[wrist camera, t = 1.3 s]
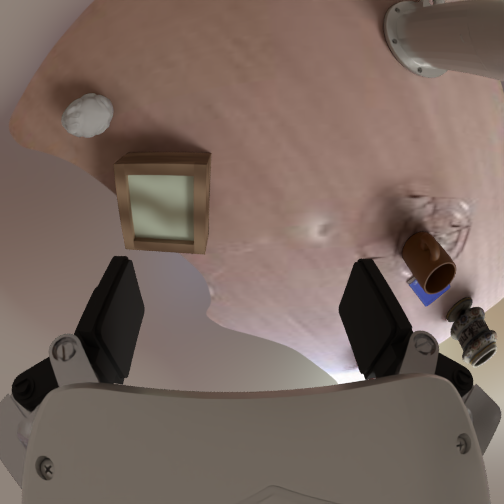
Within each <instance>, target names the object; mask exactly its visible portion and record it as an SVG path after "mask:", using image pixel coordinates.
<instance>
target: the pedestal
mask: <svg viewBox="0 0 504 504" xmlns="http://www.w3.org/2000/svg"><path fill="white" fill-rule="evenodd" d="M113 165H114V176H115V185H116V193H117V200H118V207H119V214H120V220H121V226H122V232H123V238H124V243H125V248H126V249H132V250H147V251H162V252H176V253H192V254H205V251H206V246H207V240H208V235H209V196H210V170H211V153H194V152H132V153H127V154H126V155H125V156H123V157H122V158H121V159H119V160H118V161H117V162H116V163H115V164H113Z"/></svg>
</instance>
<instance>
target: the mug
mask: <svg viewBox="0 0 504 504" xmlns="http://www.w3.org/2000/svg"><path fill="white" fill-rule="evenodd" d="M402 255H403V259H404V261H405V263H406V264H407V266H408V267H409V269H410V271H411V272H412V274H413V275H414V277H415V278H416V280H417V282H418V283H419V285H420V286H421V287H422V289H423V290H424V291H425V293H427V294H436V293H439V292H441V291H442V290H444V289H445V288H446V287H447V286H448V285H449V284H450V283H451V282H452V280H453V279H454V277H455V274H456V265H455V263H454V262H453V261H452V259H451V257H450V256H449V255H448V254H447V252H446V251H445V250H444V249H443V248H442V246H441V245H440V244H439V243H438V242H437V241H436V240H435V238H434V237H433V236H432V235H431V234H429V233H427V232H419V233H416V234H414V235H413V236H412V237H410V238H409V239H408V241H407V242H406V243H405V245H404V248H403V252H402Z"/></svg>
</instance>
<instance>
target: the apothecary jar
mask: <svg viewBox="0 0 504 504" xmlns="http://www.w3.org/2000/svg"><path fill="white" fill-rule="evenodd" d="M471 305H472V299H471V298H469V297H468V298H464V299H462V300H461V301H459V302H458V303H456V304H455V305H454V306H453V307H452V308H451V310H450V311H449V312H448V314H447V317H446V319H447V320H448V322H454V321H455V322H454V323H453V325H452V328H451V337H452V338H453V339H455V340H458V341H459V342H460V345H461V347H462V349H463V351H464V352H463V355H462V358H463V360H464V362H466V363H470V364H471V365H472V366H473V367H474V368H476V367H478V366H480V365H482V364H484V363H485V362H486V361H487V360H489V359H490V358H491V357H492V356H493V355H494V354H495V353H496V351H497V346H496V340H497V334H496V332H495V331H493V330H489V328H488V326H487V324H486V322H485V321H484V318H485V313H484V310H483V309H482V308H480V307H473V308H470V307H471Z"/></svg>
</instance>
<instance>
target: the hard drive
mask: <svg viewBox="0 0 504 504" xmlns="http://www.w3.org/2000/svg"><path fill="white" fill-rule="evenodd" d="M407 283H408V284H409V286H410V287H411V288H412V289H413V291H414V292H415V293H416V295H417V296H418V297H419V299H420V300H421V301H422V302H423V304H424V305H425V307H426V306H428V305H429V304H431V303H432V302H433V301H435V300H436V299H437V298H438V297H439V296H441V295H442V294H443V293H444V292H446V291H447V290H448V289H449V288H450V284H449V285H448V286H447V287H446V288H445V289H444V290H442V291H441V292H439V293H436V294H427V293H425V291H424V290H423V289H422V287H421V286H420V285H419V283H418V282H417V280H416V278H415V277H413V278H412V279H411V280H409V281H408V282H407Z"/></svg>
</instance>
